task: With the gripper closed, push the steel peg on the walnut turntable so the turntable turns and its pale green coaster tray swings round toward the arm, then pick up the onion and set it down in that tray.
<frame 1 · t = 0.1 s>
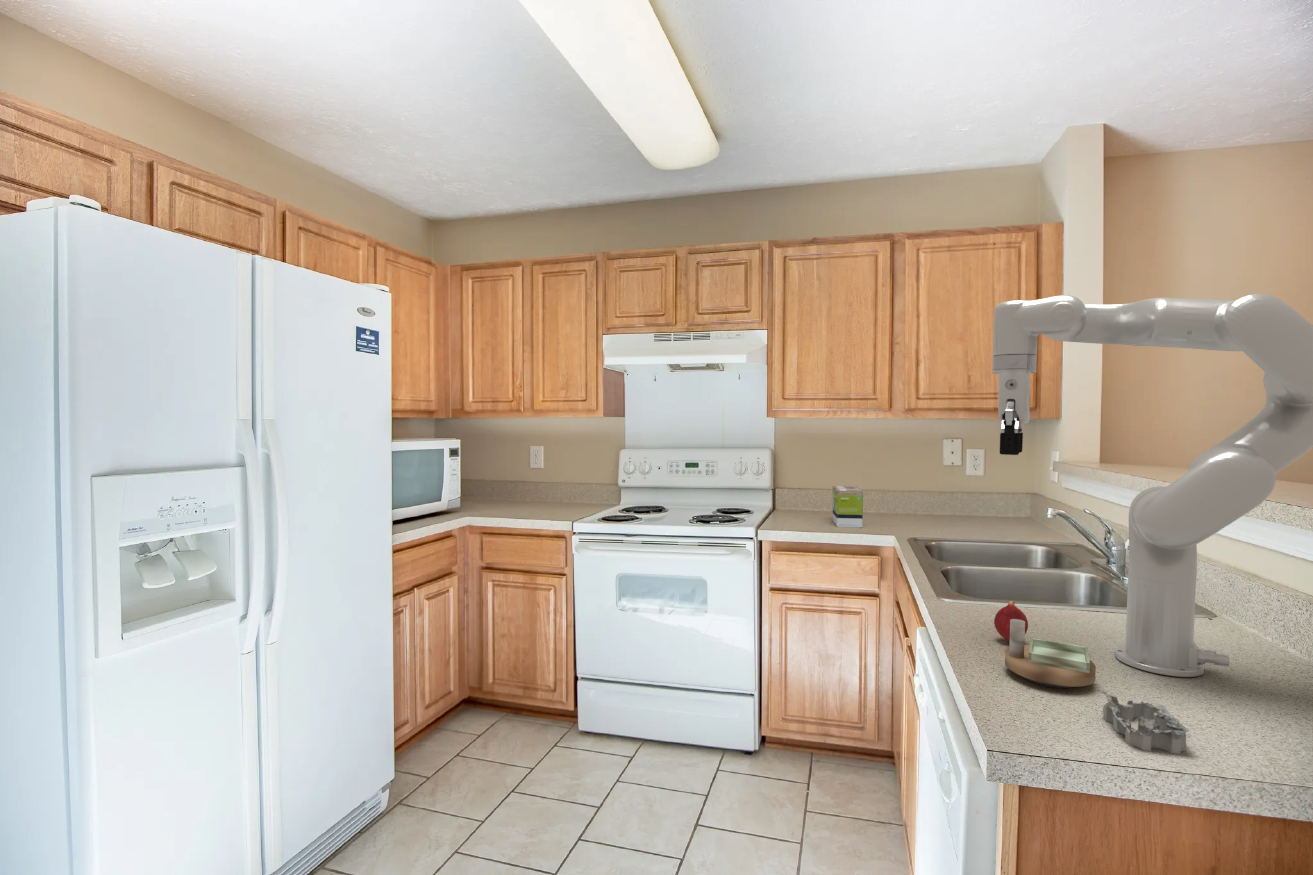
hand: (1011, 453, 127), 37 cm above the counter, tool pointing down, fingers open, 9 cm apart
onion: (1010, 643, 126), on the counter
egg carton: (1143, 736, 90), on the counter
tea box: (846, 525, 259), on the counter
turntable base: (1048, 677, 109), on the counter
turntable: (1049, 646, 109), point 5 cm above the counter, hinge at 0.0°
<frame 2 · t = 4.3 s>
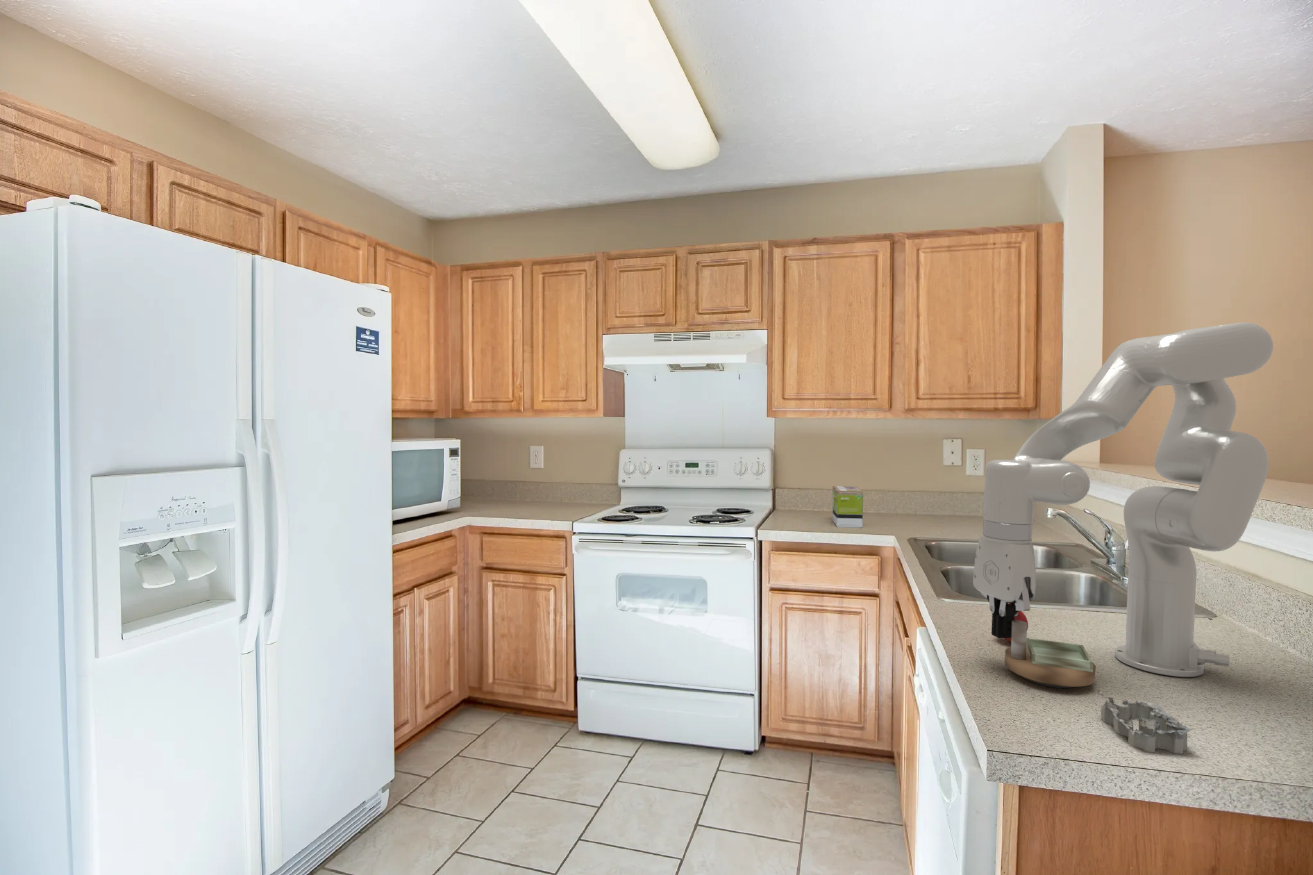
hand: (1002, 636, 112), 6 cm above the counter, tool pointing down, fingers closed
turntable: (1049, 646, 109), point 5 cm above the counter, hinge at 8.3°, touching gripper
everything else where it was.
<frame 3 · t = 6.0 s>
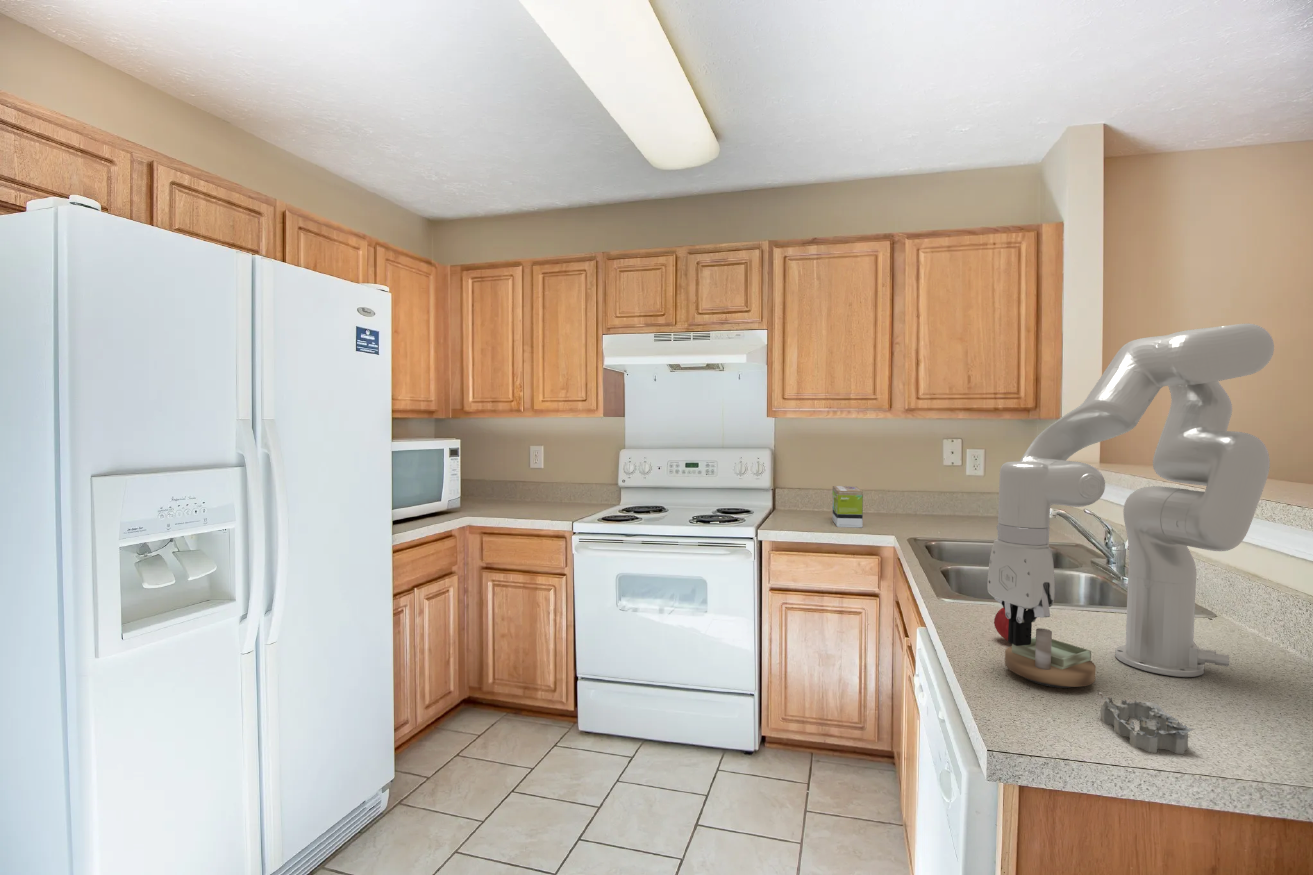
hand: (1019, 643, 109), 6 cm above the counter, tool pointing down, fingers closed
turntable: (1049, 646, 109), point 5 cm above the counter, hinge at 60.6°
everything else where it was.
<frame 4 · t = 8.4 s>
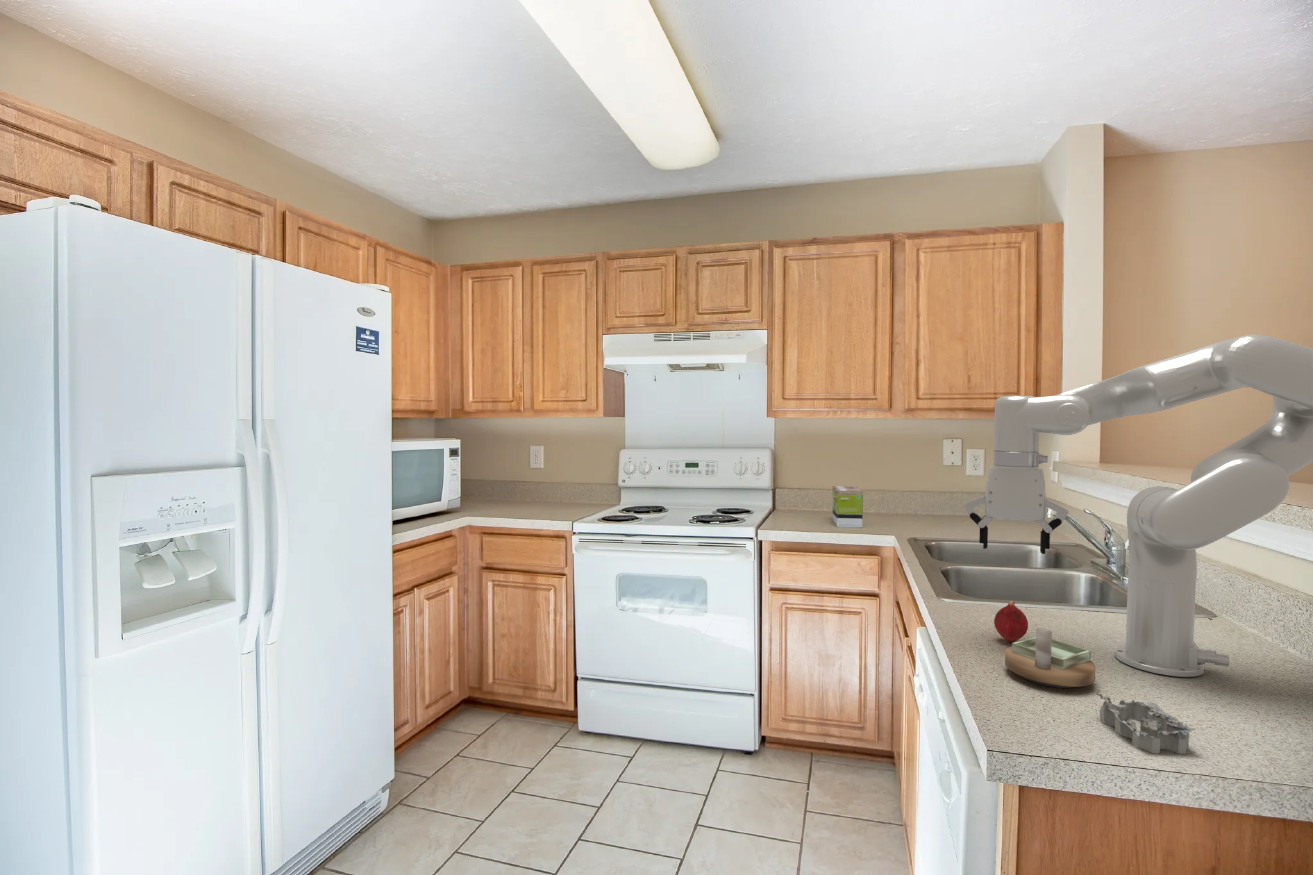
hand: (1013, 550, 124), 18 cm above the counter, tool pointing down, fingers open, 9 cm apart
nothing on the counter moved.
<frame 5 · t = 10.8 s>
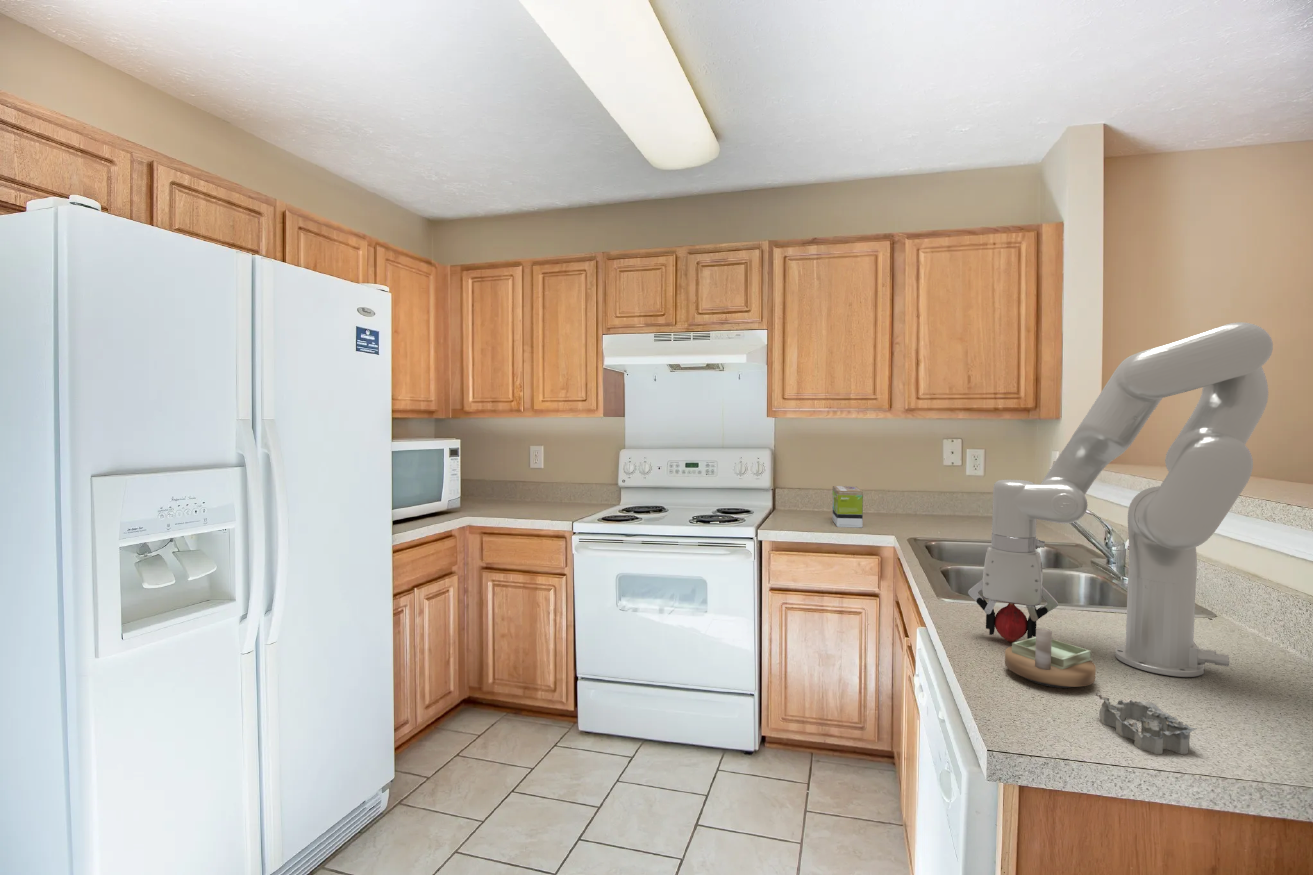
hand: (1010, 635, 126), 1 cm above the counter, tool pointing down, fingers closed on onion, 5 cm apart
onion: (1010, 643, 126), on the counter, touching gripper
everything else where it was.
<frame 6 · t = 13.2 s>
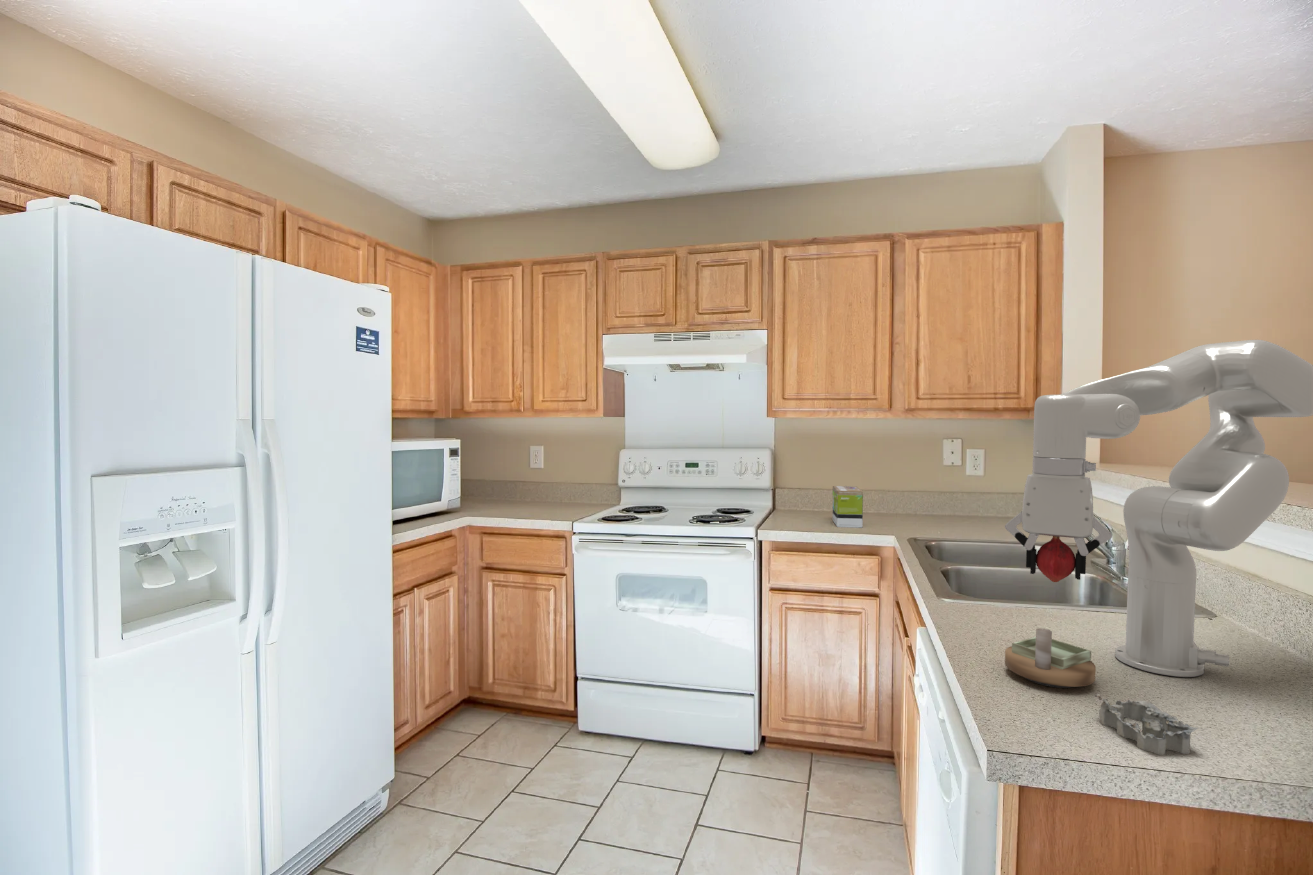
hand: (1054, 574, 109), 17 cm above the counter, tool pointing down, fingers closed on onion, 5 cm apart
onion: (1054, 583, 109), point 16 cm above the counter, touching gripper
when the fingers open (6 cm above the counter, at t = 15.7 s): onion drops 1 cm, resting on turntable.
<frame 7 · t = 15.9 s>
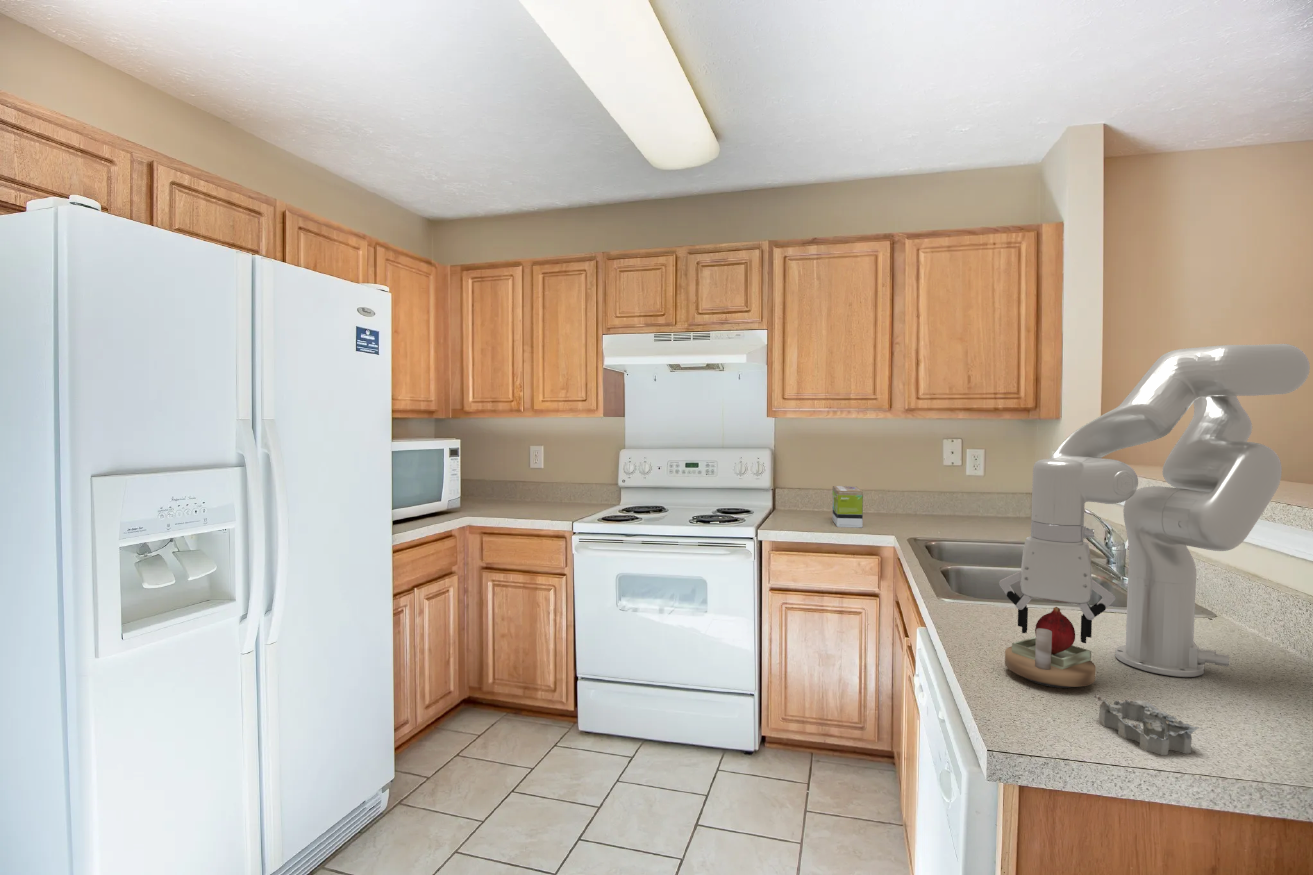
hand: (1053, 635, 110), 7 cm above the counter, tool pointing down, fingers open, 8 cm apart
onion: (1053, 655, 110), point 4 cm above the counter, touching turntable
turntable: (1049, 646, 109), point 5 cm above the counter, hinge at 60.6°, touching onion
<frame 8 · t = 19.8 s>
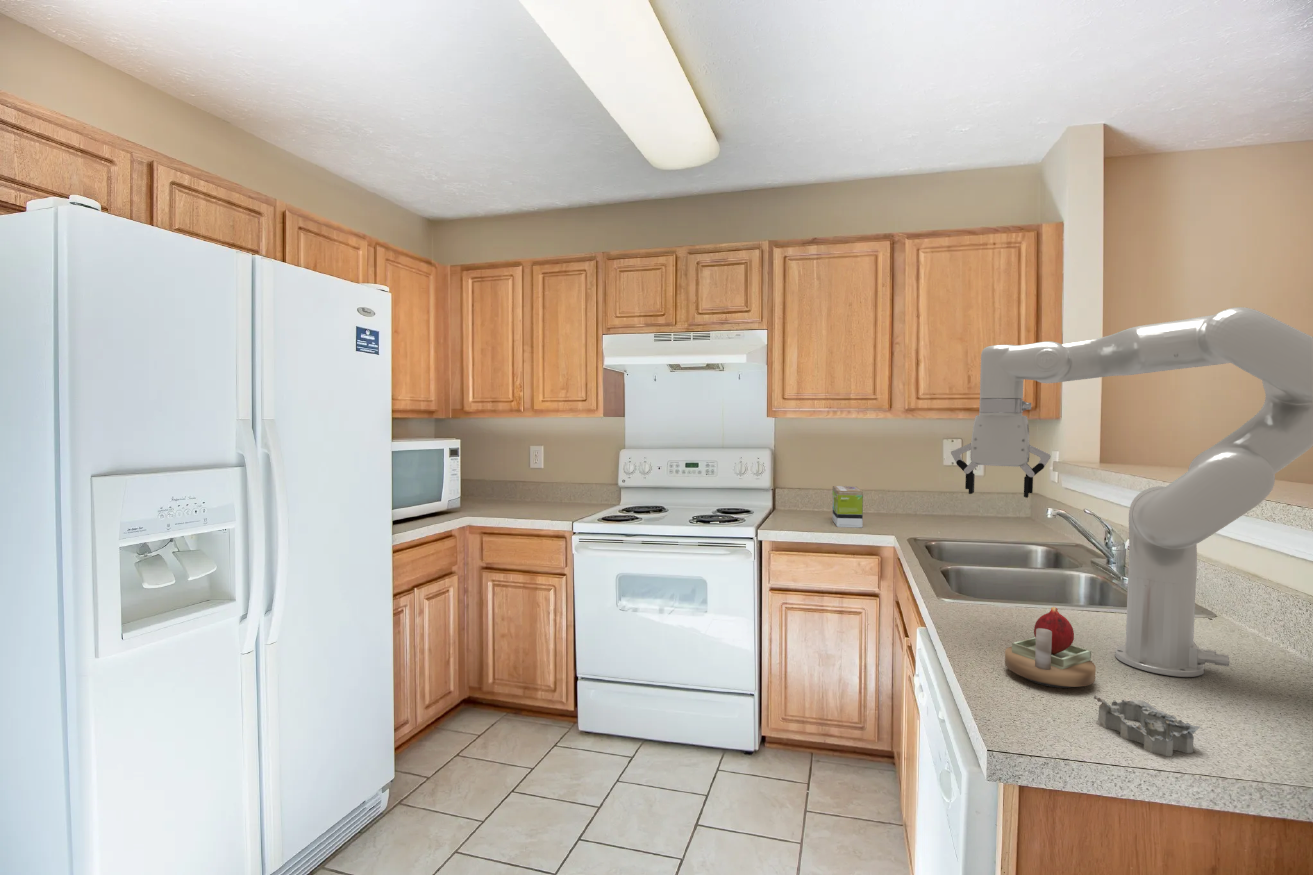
hand: (998, 495, 128), 28 cm above the counter, tool pointing down, fingers open, 9 cm apart
at the end: turntable at +61° (first picture: +0°); onion inside the target area (0.1 cm from its centre), point 3.5 cm above the counter; onion touching turntable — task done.
